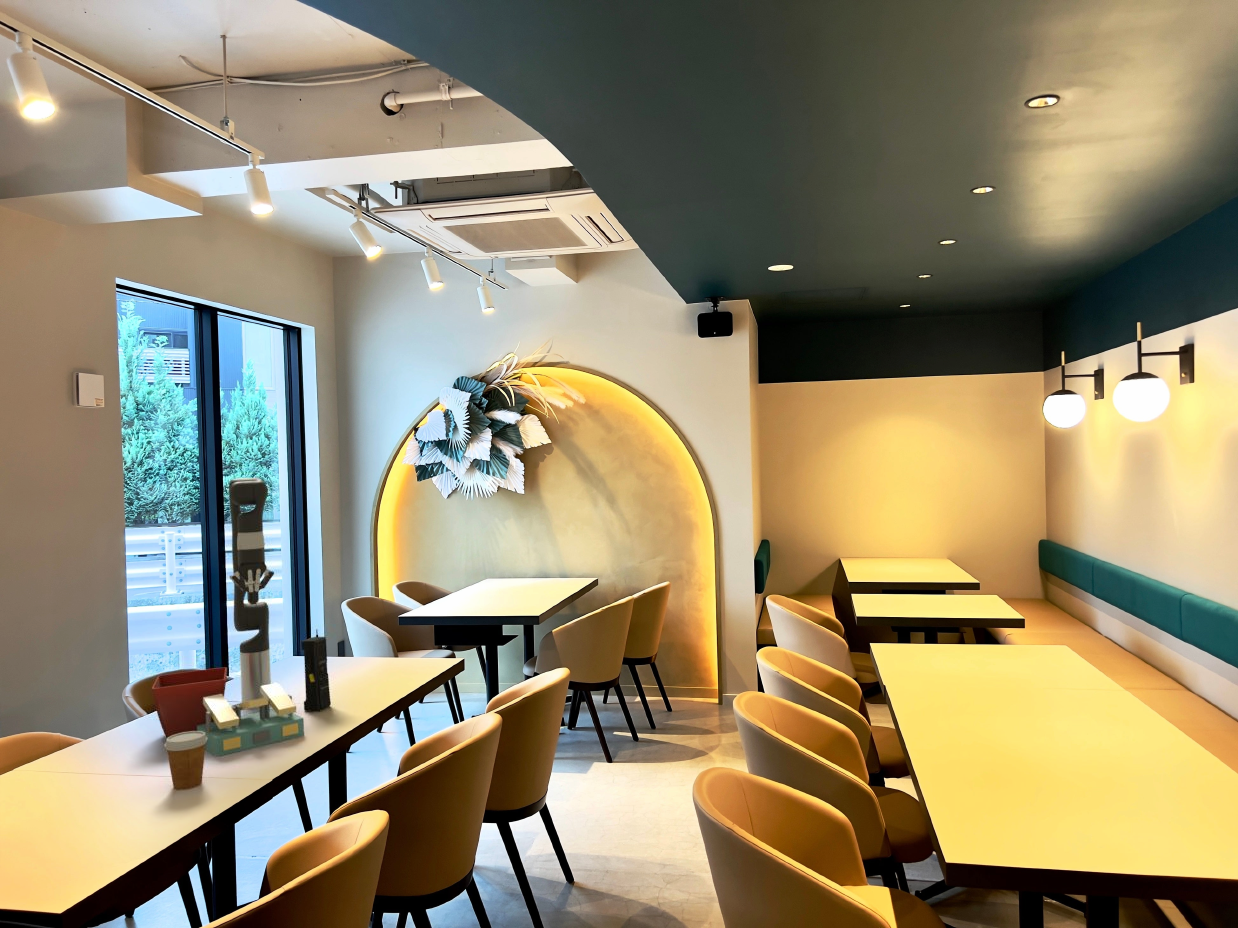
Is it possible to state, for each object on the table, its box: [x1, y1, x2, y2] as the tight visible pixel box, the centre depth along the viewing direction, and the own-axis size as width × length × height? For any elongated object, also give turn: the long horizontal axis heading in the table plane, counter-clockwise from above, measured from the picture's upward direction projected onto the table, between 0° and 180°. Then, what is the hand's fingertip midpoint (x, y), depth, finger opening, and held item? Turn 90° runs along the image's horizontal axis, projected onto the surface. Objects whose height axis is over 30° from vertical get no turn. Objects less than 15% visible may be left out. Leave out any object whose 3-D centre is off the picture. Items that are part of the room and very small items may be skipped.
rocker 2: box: [231, 697, 268, 712], centre depth 246 cm, size 15×5×2 cm, turn 42°
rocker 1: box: [203, 694, 239, 729], centre depth 241 cm, size 15×5×2 cm, turn 42°
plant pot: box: [151, 666, 228, 739], centre depth 254 cm, size 19×19×17 cm
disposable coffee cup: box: [163, 731, 208, 790], centre depth 211 cm, size 10×10×12 cm
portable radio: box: [300, 629, 332, 713], centre depth 275 cm, size 8×6×25 cm
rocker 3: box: [260, 682, 297, 716], centre depth 252 cm, size 15×5×2 cm, turn 42°
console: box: [197, 694, 305, 757], centre depth 246 cm, size 17×24×10 cm
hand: (253, 603), depth 259 cm, fingers closed
